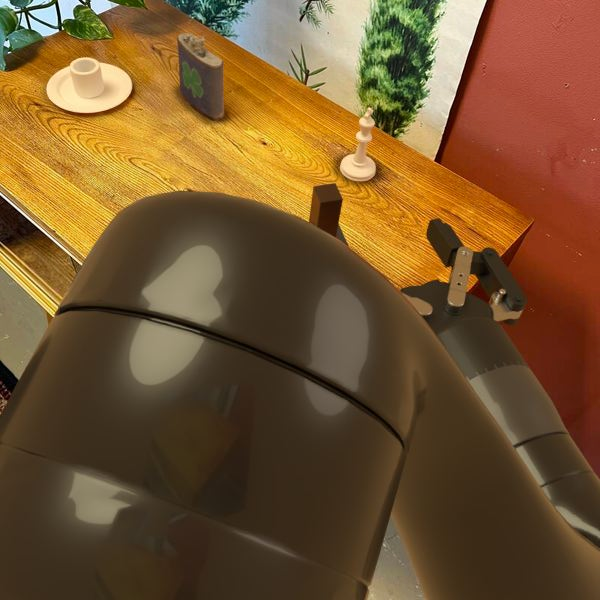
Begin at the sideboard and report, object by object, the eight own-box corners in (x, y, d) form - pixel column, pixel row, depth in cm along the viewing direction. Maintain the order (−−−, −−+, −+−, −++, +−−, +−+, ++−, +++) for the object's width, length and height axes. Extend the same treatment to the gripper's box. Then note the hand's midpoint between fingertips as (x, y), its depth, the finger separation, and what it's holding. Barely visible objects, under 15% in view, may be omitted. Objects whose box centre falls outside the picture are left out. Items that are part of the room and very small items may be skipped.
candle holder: (79, 58, 101) (74, 31, 98) (148, 81, 99) (145, 55, 96) (30, 100, 95) (22, 73, 91) (102, 126, 92) (97, 100, 89)
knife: (307, 297, 77) (321, 204, 65) (300, 277, 79) (312, 184, 67) (327, 293, 78) (344, 201, 66) (319, 274, 79) (334, 180, 68)
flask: (227, 117, 96) (226, 50, 87) (211, 124, 94) (208, 57, 86) (190, 85, 100) (186, 17, 91) (174, 91, 98) (168, 24, 90)
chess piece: (381, 167, 92) (395, 106, 84) (364, 186, 89) (377, 126, 81) (351, 152, 93) (361, 91, 85) (333, 171, 91) (342, 110, 83)
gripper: (594, 343, 43) (472, 184, 53) (395, 403, 40) (303, 221, 49) (555, 402, 49) (451, 249, 59) (378, 459, 46) (299, 286, 55)
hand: (384, 236), depth 54 cm, fingers open, 8 cm apart
